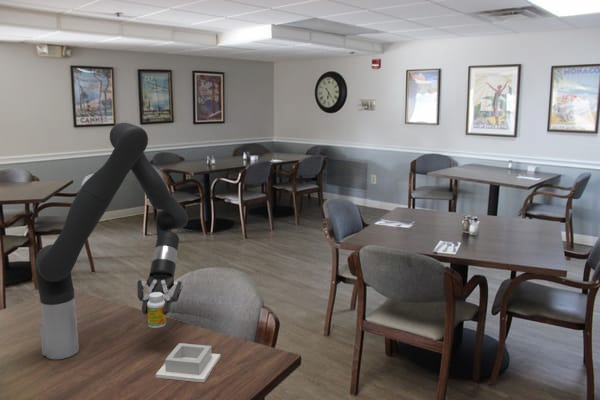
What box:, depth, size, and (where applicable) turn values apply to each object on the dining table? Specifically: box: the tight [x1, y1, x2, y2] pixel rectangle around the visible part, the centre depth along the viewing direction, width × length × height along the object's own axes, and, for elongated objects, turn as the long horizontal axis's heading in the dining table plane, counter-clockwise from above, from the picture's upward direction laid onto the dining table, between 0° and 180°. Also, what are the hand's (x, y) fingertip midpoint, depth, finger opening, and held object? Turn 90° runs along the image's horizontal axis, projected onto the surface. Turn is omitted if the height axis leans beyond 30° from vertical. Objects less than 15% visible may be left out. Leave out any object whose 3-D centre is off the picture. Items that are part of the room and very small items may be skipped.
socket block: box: [155, 342, 221, 383], centre depth 146 cm, size 14×14×4 cm
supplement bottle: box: [147, 292, 167, 329], centre depth 154 cm, size 5×5×10 cm
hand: (155, 313), depth 152 cm, fingers closed on supplement bottle, 5 cm apart
